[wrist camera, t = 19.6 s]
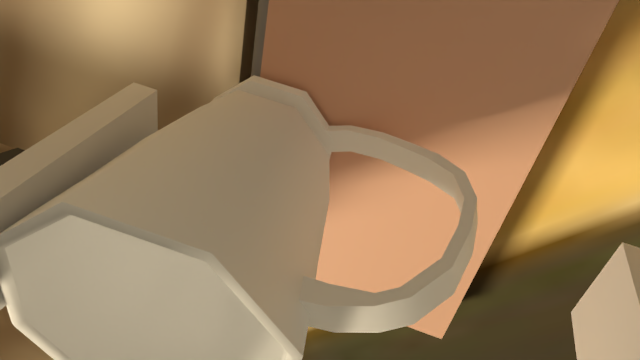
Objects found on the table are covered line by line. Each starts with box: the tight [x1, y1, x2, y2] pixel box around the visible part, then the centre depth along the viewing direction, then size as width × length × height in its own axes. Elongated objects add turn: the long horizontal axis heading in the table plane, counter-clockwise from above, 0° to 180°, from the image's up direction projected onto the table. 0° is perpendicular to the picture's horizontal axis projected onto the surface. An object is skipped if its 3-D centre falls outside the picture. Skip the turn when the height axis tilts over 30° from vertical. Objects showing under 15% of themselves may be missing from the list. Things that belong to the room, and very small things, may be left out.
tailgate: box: [251, 0, 619, 339], centre depth 17 cm, size 1×14×9 cm
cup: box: [0, 75, 478, 360], centre depth 13 cm, size 7×10×8 cm
